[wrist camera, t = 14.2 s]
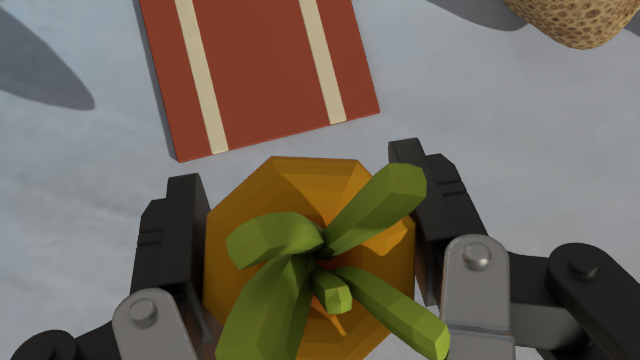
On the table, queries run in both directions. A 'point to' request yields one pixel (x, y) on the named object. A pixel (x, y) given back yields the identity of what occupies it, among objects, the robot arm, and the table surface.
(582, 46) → the brown round lump
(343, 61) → the tea towel
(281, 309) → the carrot
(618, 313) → the robot arm
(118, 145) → the table surface
